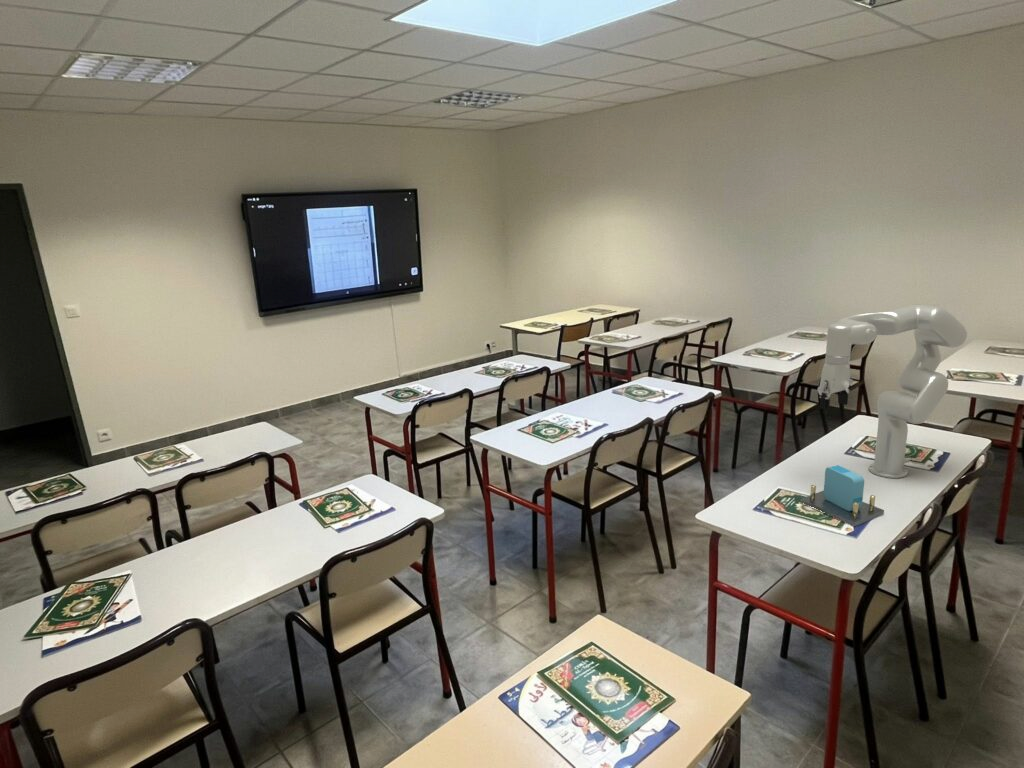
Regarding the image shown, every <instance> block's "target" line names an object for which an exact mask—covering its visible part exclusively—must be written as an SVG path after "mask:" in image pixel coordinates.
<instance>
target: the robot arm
mask: <svg viewBox="0 0 1024 768" xmlns="http://www.w3.org/2000/svg"><path fill="white" fill-rule="evenodd" d="M910 331H914V332H913V333H914V334H913V336H914V340H915V352H914V354H913V356H912V357H911V359H910V360H909V362H908V363H907V365H906V366H905V368H904V369H903V370H902V372H901V373H900V375H899V377H898V378H897V382H896V383H897V386H898V387H899V389H901V390H902V391H904V392H901V391H898V390H892V389H891V390H886V391H883V392H881V394H880V395H879V396H878V398H877V402H876V407H877V416H878V420H877V433H876V439H875V440H876V441H875V450H874V452H875V453H874V461H873V462H872V463H871V464H869V465H868V470H869V472H870V473H872V474H873V475H877V476H879V477H882V478H889V479H900V478H905V477H907V476H908V473H909V472H908V469H907V468H905V464H907V463H909V462H910V459H909V458H908V457H906V456H905V455H906V447H907V440H908V439H907V438H908V434H909V433H908V431H909V430H908V429H909V428H908V423H910V424H914V425H920V424H922V423H924V422H926V421H927V420H928V419H929V418H930V417H931V415H932V414H933V412H934V411H935V410H936V408H937V407H938V406H939V404H940V402H942V399H943V398H944V397H945V396H946V393H947V391H948V389H949V380H948V377H947V376H946V375H945V374H943V373H941V372H939V371H936V370H937V368H938V367H939V366H940V364H941V361H942V358H941V352H940V349H939V346H940V347H945V348H958V347H961V346H962V345H963V344H964V343H965V342H966V340H967V337H968V332H967V329H966V327H965V326H964V325H963V323H961V322H960V321H959V320H958V319H957V318H956V317H955V316H954V315H952V313H951V312H949V311H948V310H946V309H945V308H942V307H940V306H935V305H926V304H911V305H907V306H903V307H900V308H896V309H892V310H888V311H879V312H873V313H872V312H870V313H869V312H868V313H861V314H854V315H850V316H846V317H844V318H841V319H839V320H837V321H836V323H831V324H830V325H829V326H828V327H827V334H826V335H827V337H826V347H825V357H824V358H825V360H824V364H823V366H822V371H821V375H820V382H819V386H818V387H817V392H818V393H817V394H818V396H819V398H820V402H819V403H820V404H819V409H820V410H824V411H830V402H831V399H830V398H831V395H832V394H835V393H838V397H837V398H838V401H837V403H838V404H840V405H844V406H847V405H848V402H849V401H848V399H849V394H850V392H851V391H850V390H851V388H852V385H853V382H854V380H853V379H851V366H850V365H851V363H850V361H851V354H852V353H851V351H852V345H868V344H871V343H872V342H873V341H874V340H875V339H876V338H877V336H894V335H897V334H901V333H905V332H910ZM905 392H907V393H905ZM909 393H910V394H909ZM912 394H914V395H912ZM916 395H917V396H916Z"/></svg>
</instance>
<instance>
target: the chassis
mask: <svg viewBox="0 0 1024 768" xmlns="http://www.w3.org/2000/svg"><path fill="white" fill-rule="evenodd" d="M816 489H817V486H816V485H815V484H811V485H810V493H809V494H810V495H808V496H804V497H802V498H800V499H799V503H800V502H802V503H804V504H806V505H809V506H811V507H814V508H816V509H818V510H821V511H822V512H825V513H827V514H829V515H831V516H833V517H835V518H834V519H836V518H837V519H836V520H838V519H839V520H838V521H840V520H841V521H840V522H842V521H843V523H845V522H846V523H845V524H847V523H848V524H847V525H849V524H850V526H851V527H854V526H855V527H857V526H859V525H861V524H864V523H866V522H869V521H871V520H873V519H876V518H879V517H881V516H882V515H884V514H885V510H884V509H882V508H881V507H878V506H875V505H876V496H875V495H873V494H872V495H871V494H870V495H869V501H868V502H869V503H867V502H865V501H862V507H861V508H860V509H858V506H859V503H858V502H853V511H847V510H845V509H843V508H841V507H839V506H837V505H835V504H833V503H831V502H830V501H828V500H826V499H825V498H824V495H823V492H824V489H822V490H821V491H819V492H816ZM806 505H805V506H806ZM822 512H821V513H822ZM829 515H828V516H829ZM831 516H830V517H831ZM833 517H832V518H833Z"/></svg>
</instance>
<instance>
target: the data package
mask: <svg viewBox="0 0 1024 768" xmlns="http://www.w3.org/2000/svg"><path fill="white" fill-rule="evenodd" d="M864 489H865V478H864V477H863V475H860V474H859V473H856V472H855V471H852V470H850V469H847V468H845V467H843V466H841V465H833V466H829V467H826V468H825V471H824V483H823V490H824V492H823V495H824V498H825V499H826V500H828V501H830V502H831V503H833V504H835V505H837V506H839V507H841V508H843V509H845V510H847V511H853V502H858V503H859V506H858V509H860V508H861V507H862V502H863V497H864Z"/></svg>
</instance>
